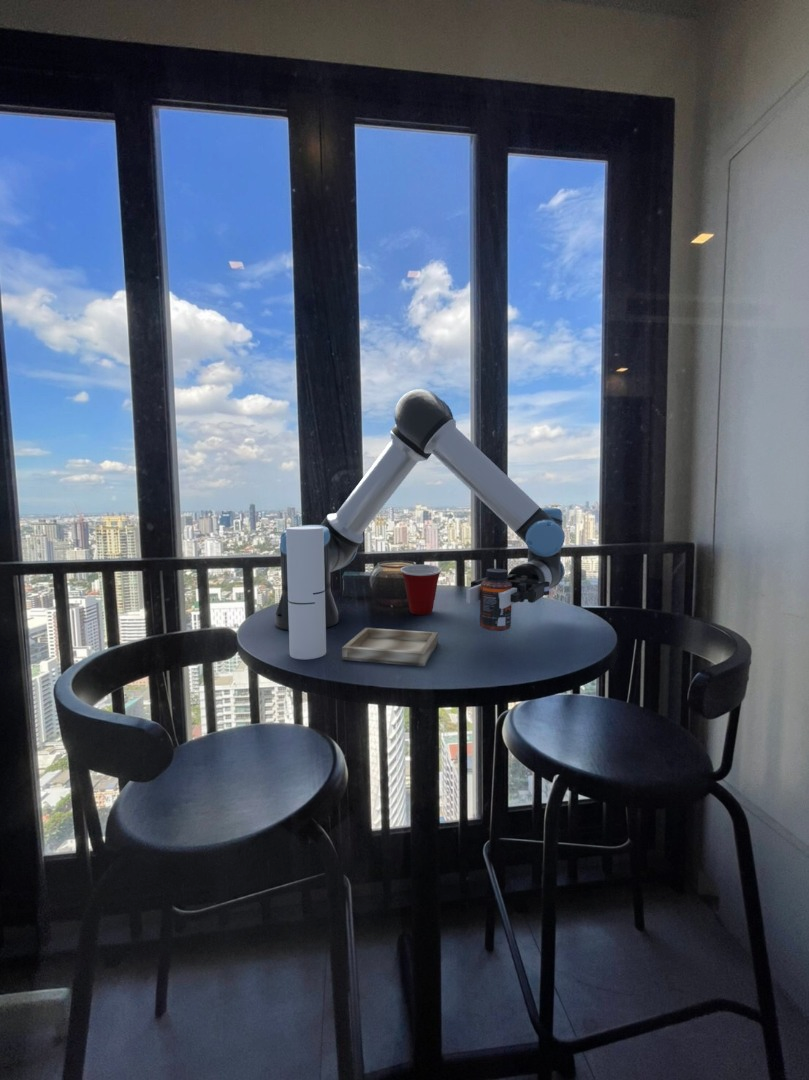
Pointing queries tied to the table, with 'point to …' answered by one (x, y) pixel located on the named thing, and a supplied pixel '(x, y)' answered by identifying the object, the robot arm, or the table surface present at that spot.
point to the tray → (391, 646)
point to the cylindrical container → (306, 592)
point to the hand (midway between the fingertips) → (484, 598)
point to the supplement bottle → (494, 601)
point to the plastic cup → (421, 587)
